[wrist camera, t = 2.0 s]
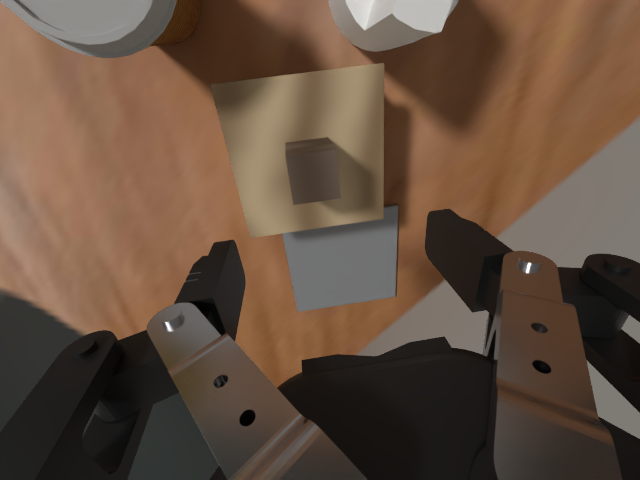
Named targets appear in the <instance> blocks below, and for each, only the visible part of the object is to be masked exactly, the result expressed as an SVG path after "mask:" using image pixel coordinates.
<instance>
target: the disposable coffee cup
mask: <svg viewBox="0 0 640 480" xmlns="http://www.w3.org/2000/svg"><path fill="white" fill-rule="evenodd" d="M0 1H1V2H2V3H3V4H4V5H5V6H6V7H8V8H9V9H10V10H11V11H12V12H14V13H15V14H16V15H17V16H19V17H20V18H21V19H22V20H23V21H25V22H26V23H27V24H28V25H29V26H30V27H32V28H33V29H35V30H36V31H37V32H39V33H40V34H42V35H43V36H45V37H46V38H48V39H50V40H52V41H53V42H55V43H57V44H59V45H60V46H62V47H65V48H67V49H70V50H72V51H75V52H78V53H81V54H85V55H89V56H95V57H100V58H116V57H123V56H128V55H131V54H134V53H136V52H138V51H141V50H143V49H145V48H147V47H149V46H155V45H165V44H175V43H179V42H181V41H183V40H186V39H187V38H188V37H189V36H190V35H191V34H192V33H193V31H194V30H195V29H196V26H197V24H198V21H199V17H200V0H0Z"/></svg>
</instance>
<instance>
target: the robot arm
mask: <svg viewBox="0 0 640 480" xmlns="http://www.w3.org/2000/svg"><path fill="white" fill-rule="evenodd" d="M425 250H426V254H427V257H428V258H429V260H430V261H431V262H432V263H433V265H434V266H435V267H436V268H437V270H438V271H439V272H440V273H441V274H442V276H443V277H444V278H445V279H446V281H447V282H448V283H449V284H450V285H451V287H452V288H453V289H454V290H455V292H456V293H457V294H458V295H459V296H460V298H461V299H462V300H463V301H464V302H465V304H466V305H467V306H468V307H469V309H470V310H471V311H472V312H477V311H483V310H487V311H488V312H489V315H488V320H487V325H486V333H485V341H484V348H483V355H482V354H479V353H475V352H472V351H468V350H464V349H458V348H451V346H450V345H449V343H448V341H447V340H446V338H445V337H439V338H433V339H427V340H421V341H415V342H410V343H407V344H405V345H403V346H400V347H398V348H396V349H393V350H391V351H389V352H386V353H384V354H382V355H379V356H357V355H339V354H337V355H331V356H325V357H319V358H313V359H306V360H302V373H299V374H297V375H295V376H293V377H292V378H290V379H288V380H287V381H285V382H284V383H283V384H281V385H280V386H279V387H278V388H276V387H275V385H274V384H273V383H272V382H271V381H270V380H269V379H268V378H267V377H266V376H265V374H264V373H263V372H262V371H261V370H260V369H259V368H258V367H257V366H256V365H255V363H254V362H253V361H252V360H251V359H250V358H249V357H248V356H247V355H246V354H245V352H244V351H243V350H242V349H241V348H240V347H239V346H238V345H237V344H236V343H235V338H236V333H237V327H238V322H239V317H240V311H241V306H242V301H243V296H244V290H245V274H244V270H243V266H242V263H241V260H240V256H239V253H238V249H237V246H236V243H235V241H234V240H228V241H221V242H215V243H214V244H213V246H212V248H211V250H210V253H209V255H208V256H202V257H201V258H200V259H199V260H198V261H197V262H196V263H195V264H194V265H193V267H192V269H191V271H190V273H189V275H188V277H187V279H186V282H185V283H184V285H183V287H182V289H181V291H180V293H179V295H178V297H177V299H176V301H175V303H174V305H171V306H168V307H166V308H164V309H163V310H161V311H160V312H158V313H157V314H156V315H154V316H153V318H152V319H151V320H150V321H149V323H148V325H147V330H145V331H142V332H140V333H137V334H134V335H132V336H129V337H126V338H124V339H121V340H118V339H117V338H116V336H115V335H114V334H113V333H112V332H111V331H106V330H103V331H97V332H93V333H90V334H88V335H85V336H83V337H82V338H80V339H78V340H76V341H74V342H73V343H71V344H70V345H69V346H67V347H66V348H65V349H64V350H63V351H62V352H61V353H60V354H59V355H58V356H57V358H56V359H55V360H54V362H53V363H52V364H51V366H50V367H49V368H48V370H47V371H46V373H45V374H44V375H43V376H42V378H41V379H40V380H39V382H38V383H37V384H36V386H35V387H34V388H33V390H32V391H31V392H30V393H29V395H28V396H27V397H26V399H25V400H24V401H23V403H22V404H21V405H20V407H19V408H18V409H17V411H16V412H15V413H14V415H13V416H12V417H11V419H10V420H9V421H8V423H7V424H6V425H5V426H4V428H3V429H2V431H1V432H0V480H127V479H128V476H129V473H130V470H131V467H132V464H133V461H134V458H135V456H136V453H137V450H138V447H139V444H140V441H141V438H142V435H143V432H144V430H145V427H146V424H147V421H148V418H149V415H150V412H151V409H152V406H153V404H155V403H157V402H159V401H161V400H163V399H166V398H168V397H170V396H172V395H174V394H177V393H179V392H180V394H181V396H182V398H183V400H184V401H185V403H186V405H187V407H188V409H189V411H190V412H191V414H192V416H193V418H194V420H195V422H196V423H197V425H198V427H199V429H200V430H201V433H202V434H203V436H204V438H205V440H206V442H207V444H208V445H209V447H210V449H211V451H212V453H213V454H214V456H215V458H216V460H217V462H218V464H219V466H218V468H217V469H216V471H215V472H214V473H213V475H212V476H211V478H210V479H209V480H640V439H638V438H637V437H635V436H633V435H631V434H629V433H627V432H626V431H624V430H622V429H620V428H618V427H616V426H615V425H612V424H611V423H609V422H607V421H605V420H604V419H602V418H600V417H598V414H597V409H596V404H595V400H594V395H593V390H592V385H591V380H590V376H589V371H588V366H587V361H589V363H590V364H591V365H592V366H594V368H595V369H596V370H597V371H599V373H600V374H601V375H602V376H604V378H606V379H607V380H608V382H609V383H610V384H612V385H613V386H614V387H615V388H616V389H617V390H618V391H619V392H620V393H621V394H622V395H623V396H624V397H625V398H626V399H627V400H628V401H629V402H630V403H631V404H632V405H633V406H634V407H635V408H636V409H637V410H638V411H639V412H640V344H639V343H638V342H637V341H636V340H634V339H633V338H632V337H630V336H629V335H628V334H627V333H625V332H624V331H623V330H622V329H621V328H622V326H623V324H624V323H625V321H626V319H627V318H628V316H629V315H631V316H632V317H633V318H635V319H636V320H637V321H639V322H640V263H638V262H636V261H633V260H631V259H628V258H625V257H621V256H617V255H611V254H593V255H589V256H588V257H587V258H586V259H585V261H584V264H583V266H582V268H564V267H557V266H556V264H555V263H554V262H553V261H552V260H550V259H549V258H547V257H545V256H542V255H540V254H536V253H533V252H527V251H512V250H511V249H510V248H509V247H507V246H506V245H504V244H503V243H502V242H500V241H499V240H498V239H496V238H495V237H494V236H491V234H490V233H488V232H487V231H484V229H483V228H482V227H480V226H479V225H478V224H476V223H474V222H472V221H469V220H466V219H464V218H461V217H460V216H458V215H457V214H456V213H454V212H453V211H452V210H450V209H443V210H437V211H431V212H429V214H428V217H427V228H426V239H425ZM586 360H587V361H586ZM93 412H94V413H95V414H94V416H93V418H92V420H91V422H90V424H89V426H88V428H87V430H86V432H85V434H84V436H83V432H84V429H85V427H86V425H87V423H88V421H89V419H90V417H91V415H92V413H93ZM82 436H83V438H82Z"/></svg>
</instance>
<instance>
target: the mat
mask: <svg viewBox="0 0 640 480" xmlns="http://www.w3.org/2000/svg"><path fill="white" fill-rule="evenodd" d="M397 231H398V205H391V206H384V208H383V219H378V220H371V221H364V222H358V223H351V224H344V225H337V226H330V227H323V228H316V229H309V230H302V231H295V232H288V233H282V234H283V240H284V245H285V250H286V255H287V260H288V265H289V270H290V275H291V280H292V285H293V290H294V295H295V300H296V306H297V311H298V312H299V311H306V310H312V309H319V308H325V307H331V306H338V305H344V304H351V303H357V302H364V301H370V300H377V299H383V298H389V297H395V291H396V261H397Z"/></svg>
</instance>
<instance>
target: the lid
mask: <svg viewBox="0 0 640 480" xmlns="http://www.w3.org/2000/svg"><path fill="white" fill-rule="evenodd" d="M210 86H211V89H212V93H213V97H214V101H215V105H216V108H217V112H218V116H219V120H220V124H221V127H222V131H223V135H224V139H225V143H226V146H227V150H228V154H229V158H230V162H231V165H232V169H233V173H234V177H235V181H236V184H237V188H238V192H239V196H240V200H241V203H242V207H243V211H244V215H245V219H246V222H247V226H248V230H249V234H250V238H253V237H260V236H267V235H274V234H281V233H288V232H295V231H302V230H309V229H316V228H323V227H330V226H337V225H344V224H351V223H358V222H364V221H371V220H378V219H383V208H384V63H379V64H371V65H363V66H355V67H347V68H338V69H330V70H322V71H314V72H306V73H298V74H289V75H281V76H273V77H265V78H257V79H249V80H240V81H232V82H224V83H216V84H210Z"/></svg>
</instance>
